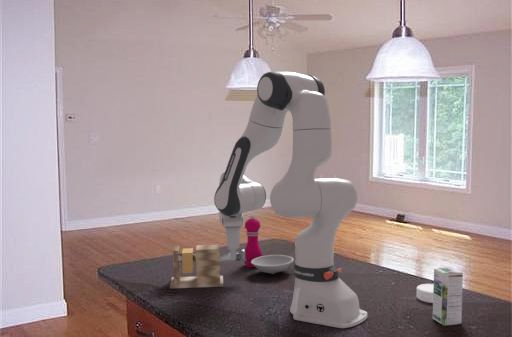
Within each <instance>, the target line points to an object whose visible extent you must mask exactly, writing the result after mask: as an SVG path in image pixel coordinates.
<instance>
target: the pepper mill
mask: <svg viewBox="0 0 512 337" xmlns="http://www.w3.org/2000/svg"><path fill="white" fill-rule="evenodd" d="M255 217H256V216H255V215H254V214H251V215H250V216H249V218H248V219H247V220H245V222H244V228H245V229H246V230H245V231H246V236H247V242H246V246H245V247H244V249H245V263H244V267H246V266H247V268H251V267H255V266H254V265H253V264H252V263H251V261H252V260H253V259H255V258H257V257H261V256H263V251H262V248H261V247H260V243H259V235H260V231H259V230H260V229H261V223H260V222H261V221H259V219H257V218H255ZM255 268H256V267H255Z"/></svg>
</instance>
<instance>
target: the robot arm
mask: <svg viewBox="0 0 512 337" xmlns="http://www.w3.org/2000/svg"><path fill="white" fill-rule="evenodd" d="M256 87H257V88H256V92H257V93H256V94H257V95H256V97H255V99H254V101H253V104H252V107H251V111H250V114H249V117H248V118H249V119H248V122H247V125H246V127H245V129H244V132H243V133H242V135H241V136H240V137H239V139H238V140H237V141H236V142H235V144H234V146H233V149H232V152H231V153H230V157H229V160H228V162H227V166H226V167H225V171H224V172H223V173H221V174H220V177H219V185H218V187H217V189H216V191H215V193H214V197H213V202H214V205H215V206H214V207H216V209H217V210H218V211H219V215H218V217H219V218H218V219H219V221H218V222H219V223H220V224H221V225H222V227H223V228H224V231H225V238H226V245H227V249H228V250H229V253H230V259H231V260H236V252H237V250H239V249H240V243H241V241H240V240H241V230H242V227H243V225H244V224H245V223H246V213H247V212H252V211H257V210H259V209H262V208H263V207H264V205H265V203H266V199H267V192H266V189H265V188H264V186H263V185H262V183H260V182H256V181H254V180H253V179H250V178H249V177H248V176H246V175H245V173H246V169H247V166H248V165H249V163H250V162H251V161H252V160H253V159H254V158H256V157H258V156H259V155H261V154H262V153H263V154H264V153H265V152H266V151H267V152H268V151H269V150H271V149H273V148H274V147H276V146H277V144H278V143H279V140H280V138H281V136H282V133H283V127H284V124H285V118H286V114H287V113H288V111H289V112H290V114H291V116H292V155H291V156H292V157H291V161H290V164H289V166H288V169H287V171H286V173H285V174H284V176H283V177H282V178H281V179H280V180H279V181H278V182H276V183H275V185H274V186H273V187H272V189H271V191H270V194H269V195H270V197H269V200H270V201H269V203H270V206H271V208H272V210H273V211H274V212H275V214H276V215H277V216H279V217H283V218H285V217H286V218H293V219H295V218H296V219H297V218H299V219H300V218H312V221H311V223H310V224H309V225H308V226H307V227H305V228H304V229H303V230H301V231H299V232H298V234H297V235H296V237H295V240H294V245H295V246H294V249H295V250H294V251H295V252H294V253H295V254H294V256H295V258H294V259H295V260H294V263H293V277H294V287H293V296H292V299H291V300H292V301H291V304H290V307H289V308H290V309H289V312H290V313H291V314H292V318H293V320H295V321H300V322H305V323H311V324H315V325H322V326H327V327H333V328H338V329H347V328H352V327H355V326H357V325H359V324H362V323H363V322H365V321H366V320H367V318H368V311H366V310H364V309H361V308H360V302H359V297H358V295H357V293H356V292H354V291H353V289H351V287H349V286H348V284H346V283H345V282H344V281H343V280H342V279H341V278H340V275H339V273H342V272H343V271H342V267H339V268H337V267H336V264H335V262H334V257H335V256H334V249H335V239H336V234H337V232H338V229H339V227H340V225H341V223H342V221H343V220H344V219H345V218H346V217H347V215H349V214H350V213H351V212H352V211H353V210H354V208H355V207H356V205H357V202H358V192H357V188H356V187H355V185H354V183H353V182H352V181H351V180H349V179H344V178H340V177H339V178H338V177H324V178H323V177H321V178H320V177H319V178H315V173H316V170H317V169H318V167H320V166H322V165H324V164H326V163H327V162H328V161H329V160H330V159H331V156H332V154H333V146H332V144H333V143H332V141H333V140H332V139H333V138H332V123H331V113H330V108H329V103H328V99H327V98H326V96H325V92H326V91H325V86H324V83H323V81H322V80H321V79H320V78H317V77H316V76H313V75H309V74H308V75H307V74H303V73H298V72H295V71H294V72H293V71H277V70H274V71H268V72H265V73H263V74H262V75H261V76H260V78H259V79H258V83H257V86H256Z"/></svg>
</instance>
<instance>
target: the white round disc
mask: <svg viewBox="0 0 512 337" xmlns="http://www.w3.org/2000/svg"><path fill="white" fill-rule="evenodd" d="M433 289H434V283H422V284H419V285H417V286H416V296H415V297H416V298H417V299H418V300H419V301H422V302H425V303H429V304H430V303H431V304H433Z"/></svg>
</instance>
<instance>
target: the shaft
mask: <svg viewBox="0 0 512 337" xmlns="http://www.w3.org/2000/svg"><path fill="white" fill-rule="evenodd" d="M239 249H240V248H239ZM229 261H232V262H233V261H235V262H236V261H239V262H240V264H245V261H246V259H245V248H243V249H242V248H241V249H240V250H239V251H236V260H231V259H230V252H220V262H229ZM172 262H173V264H174V259H173V258H172ZM179 262H180V263H182V253H180V254H179ZM193 263H196V253H193Z"/></svg>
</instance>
